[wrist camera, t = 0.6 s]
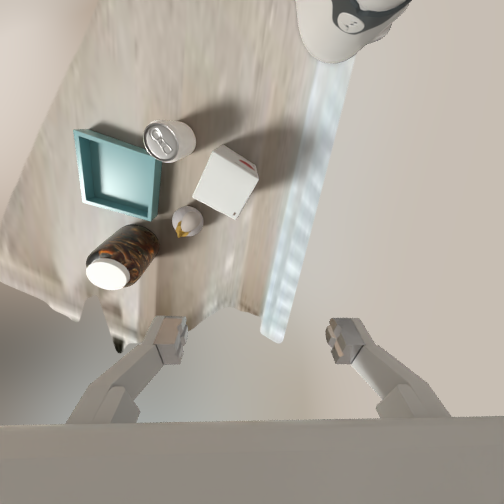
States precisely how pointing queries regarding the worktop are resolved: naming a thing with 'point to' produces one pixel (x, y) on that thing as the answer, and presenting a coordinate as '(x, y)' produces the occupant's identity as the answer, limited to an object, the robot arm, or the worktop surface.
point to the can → (169, 140)
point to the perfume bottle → (187, 221)
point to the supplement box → (226, 182)
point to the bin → (117, 175)
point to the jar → (122, 258)
